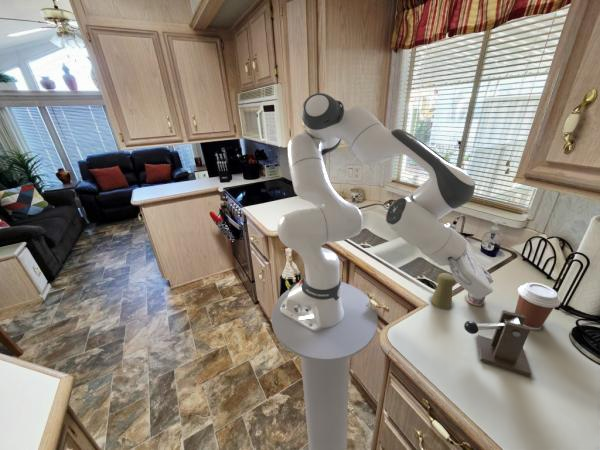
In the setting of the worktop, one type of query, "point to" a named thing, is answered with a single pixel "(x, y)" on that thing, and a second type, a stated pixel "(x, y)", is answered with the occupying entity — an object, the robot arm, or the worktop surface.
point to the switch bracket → (506, 346)
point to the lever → (488, 325)
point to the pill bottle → (475, 299)
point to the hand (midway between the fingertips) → (488, 279)
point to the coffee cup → (536, 303)
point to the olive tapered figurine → (443, 291)
